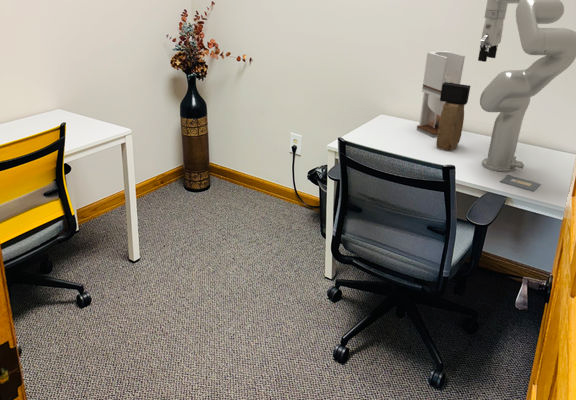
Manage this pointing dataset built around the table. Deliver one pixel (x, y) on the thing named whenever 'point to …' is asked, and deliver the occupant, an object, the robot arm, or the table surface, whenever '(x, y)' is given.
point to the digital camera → (455, 93)
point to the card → (520, 183)
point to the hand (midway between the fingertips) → (486, 59)
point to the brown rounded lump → (450, 126)
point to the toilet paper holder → (437, 87)
